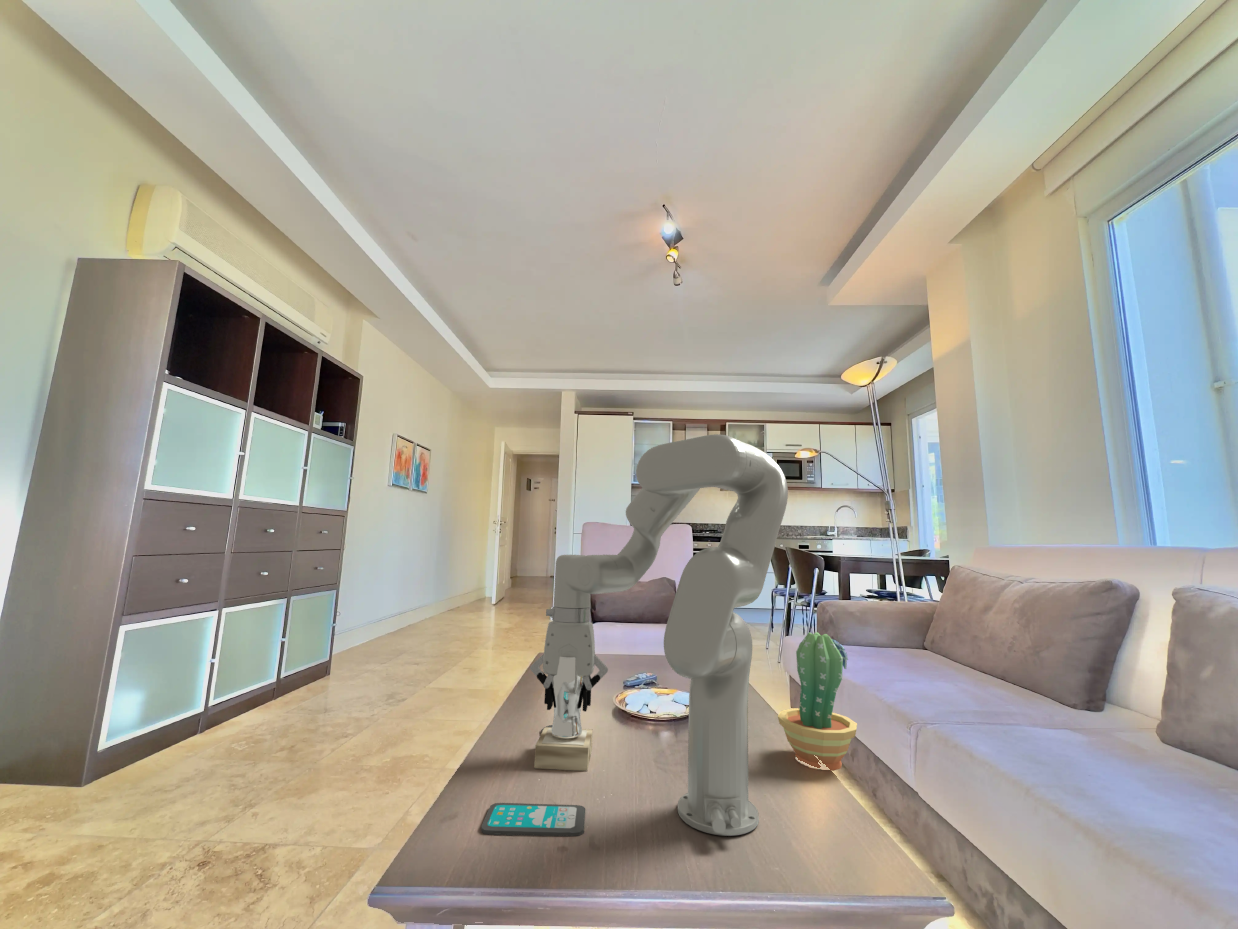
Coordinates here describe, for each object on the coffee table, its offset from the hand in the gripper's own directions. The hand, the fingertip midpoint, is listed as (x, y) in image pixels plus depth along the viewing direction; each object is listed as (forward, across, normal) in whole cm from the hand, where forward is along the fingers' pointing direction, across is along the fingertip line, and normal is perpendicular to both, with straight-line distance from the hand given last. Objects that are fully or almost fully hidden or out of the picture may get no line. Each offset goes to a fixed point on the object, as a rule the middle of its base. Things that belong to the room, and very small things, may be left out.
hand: (567, 707), depth 103 cm
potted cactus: (+10, +51, +5) cm, 52 cm away
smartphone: (+10, -2, -23) cm, 25 cm away
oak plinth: (+9, 0, 0) cm, 9 cm away
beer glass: (+5, 0, 0) cm, 5 cm away
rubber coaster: (+9, -3, +14) cm, 17 cm away
